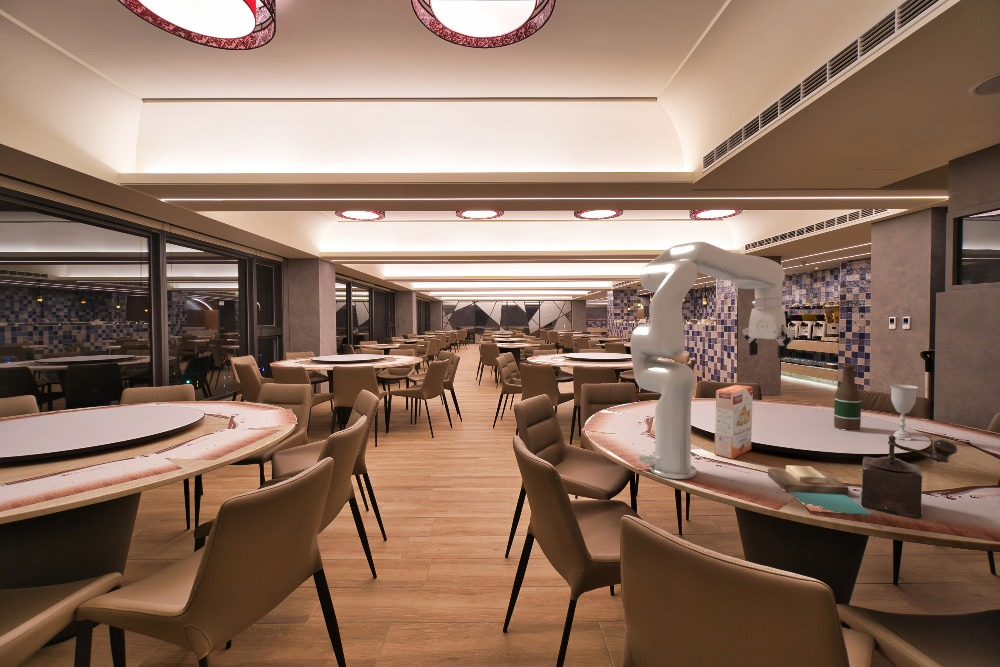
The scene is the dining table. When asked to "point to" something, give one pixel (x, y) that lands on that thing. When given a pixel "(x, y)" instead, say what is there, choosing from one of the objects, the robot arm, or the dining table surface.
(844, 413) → the beer bottle
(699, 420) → the dining table surface
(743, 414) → the cracker box
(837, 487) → the board
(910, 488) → the brown manual coffee grinder
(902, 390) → the chalice
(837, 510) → the teal mat
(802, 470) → the maple tile
